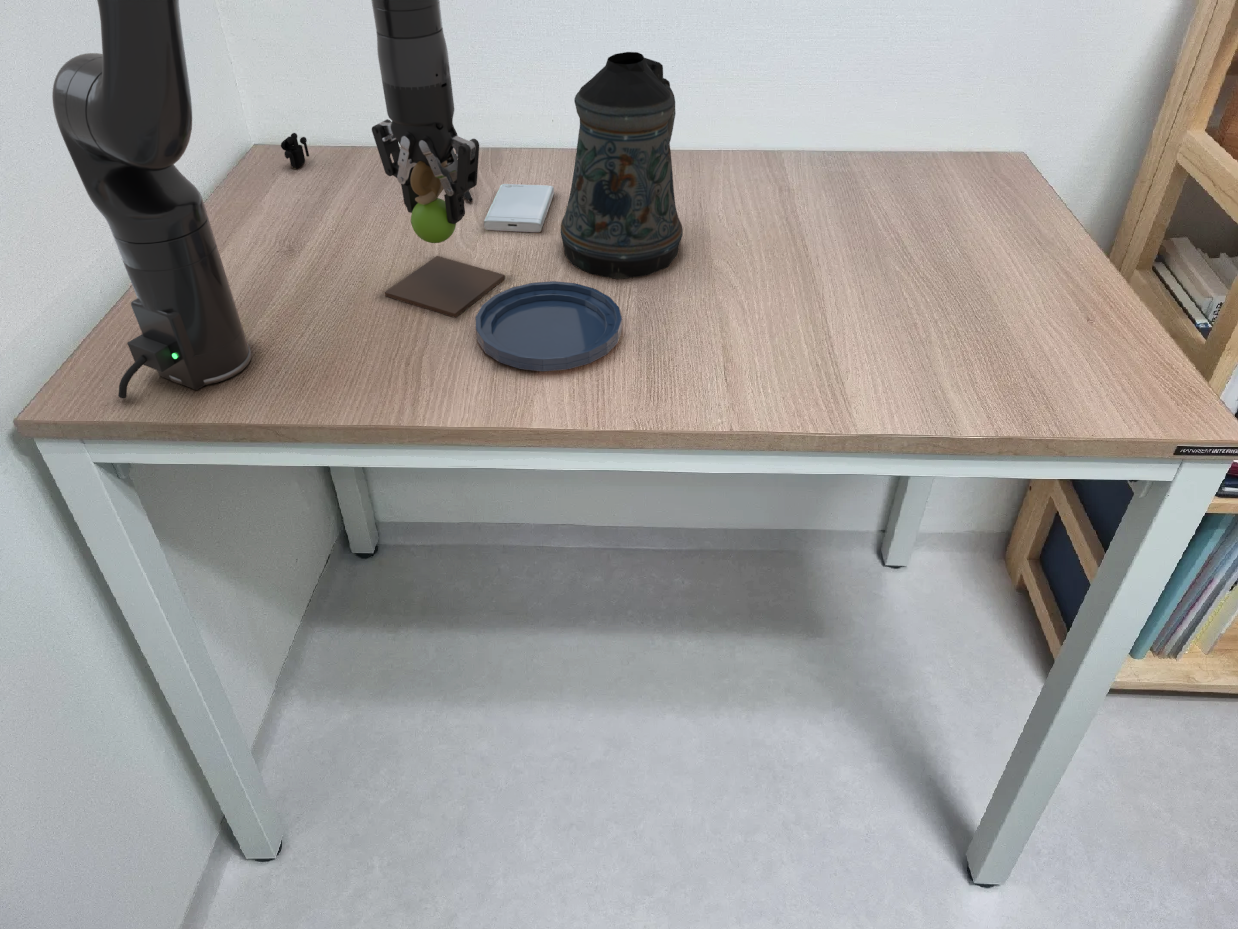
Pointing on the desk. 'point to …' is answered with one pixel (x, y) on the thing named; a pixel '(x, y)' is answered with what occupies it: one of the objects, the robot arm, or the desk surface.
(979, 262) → the desk surface
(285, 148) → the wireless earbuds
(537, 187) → the hard drive
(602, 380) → the desk surface
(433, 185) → the snail figurine
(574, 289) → the plate
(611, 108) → the beer stein
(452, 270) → the coaster
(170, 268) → the robot arm
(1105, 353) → the desk surface
